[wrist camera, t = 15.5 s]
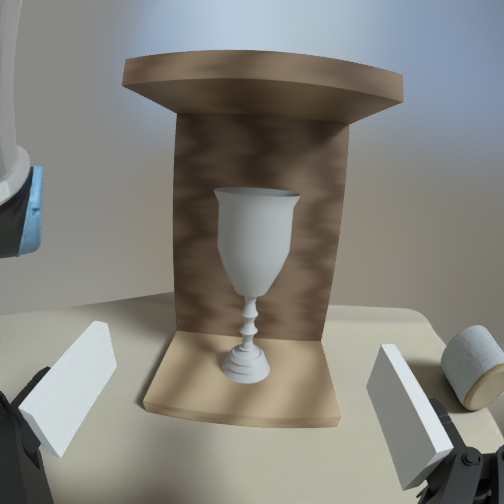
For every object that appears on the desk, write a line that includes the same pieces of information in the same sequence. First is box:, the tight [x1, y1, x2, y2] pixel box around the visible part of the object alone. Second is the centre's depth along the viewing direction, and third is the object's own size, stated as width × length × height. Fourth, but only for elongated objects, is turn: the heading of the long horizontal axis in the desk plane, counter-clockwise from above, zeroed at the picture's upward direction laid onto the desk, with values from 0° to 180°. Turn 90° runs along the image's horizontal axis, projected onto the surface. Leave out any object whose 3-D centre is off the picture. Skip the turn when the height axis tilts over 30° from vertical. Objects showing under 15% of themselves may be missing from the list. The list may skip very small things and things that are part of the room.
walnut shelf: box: [122, 50, 403, 428], centre depth 25 cm, size 18×14×29 cm
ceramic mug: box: [441, 325, 504, 410], centre depth 23 cm, size 11×8×8 cm
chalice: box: [213, 187, 301, 384], centre depth 26 cm, size 7×7×18 cm
